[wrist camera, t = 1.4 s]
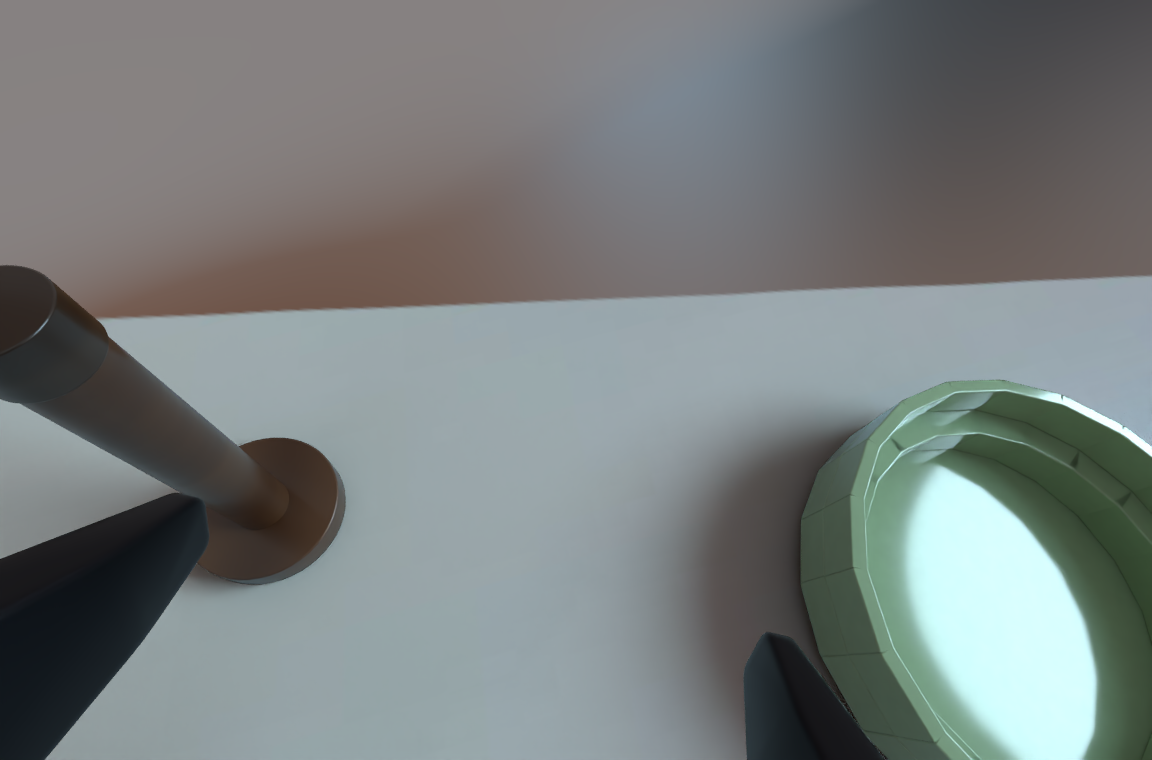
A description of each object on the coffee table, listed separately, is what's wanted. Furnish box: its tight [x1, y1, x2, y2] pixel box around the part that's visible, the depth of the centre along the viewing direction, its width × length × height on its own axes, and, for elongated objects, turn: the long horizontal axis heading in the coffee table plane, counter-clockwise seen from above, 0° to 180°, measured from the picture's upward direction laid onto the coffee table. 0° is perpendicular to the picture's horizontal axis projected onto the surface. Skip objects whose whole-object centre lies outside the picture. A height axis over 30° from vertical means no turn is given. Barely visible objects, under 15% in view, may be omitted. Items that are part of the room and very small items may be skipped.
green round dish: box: [801, 380, 1152, 760], centre depth 22 cm, size 17×17×4 cm
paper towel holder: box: [0, 265, 346, 584], centre depth 16 cm, size 6×6×14 cm
